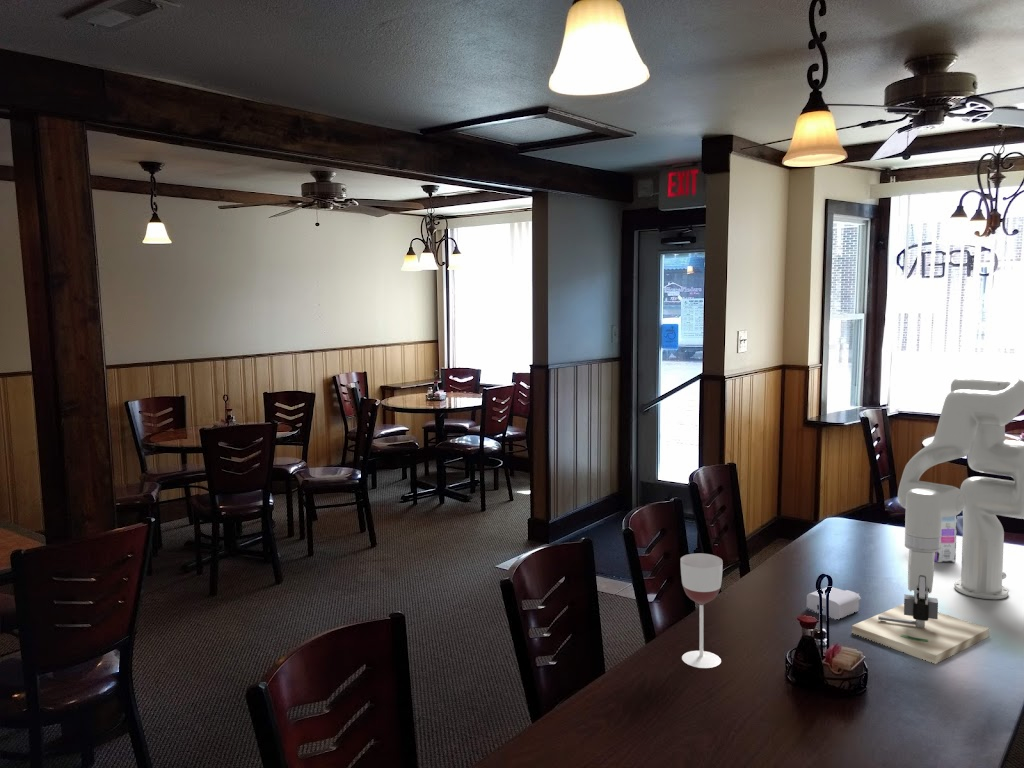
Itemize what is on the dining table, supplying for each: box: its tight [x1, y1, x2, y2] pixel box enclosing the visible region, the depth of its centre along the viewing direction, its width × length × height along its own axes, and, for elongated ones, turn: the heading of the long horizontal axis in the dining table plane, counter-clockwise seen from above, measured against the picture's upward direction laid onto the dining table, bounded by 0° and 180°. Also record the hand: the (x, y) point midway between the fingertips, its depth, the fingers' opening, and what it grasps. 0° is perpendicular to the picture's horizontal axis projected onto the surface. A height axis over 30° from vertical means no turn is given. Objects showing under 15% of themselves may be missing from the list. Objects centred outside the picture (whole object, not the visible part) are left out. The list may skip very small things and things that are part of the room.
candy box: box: [934, 515, 958, 563], centre depth 239 cm, size 14×6×16 cm, turn 179°
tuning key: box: [878, 593, 939, 628], centre depth 184 cm, size 12×3×7 cm, turn 64°
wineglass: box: [680, 552, 724, 669], centre depth 173 cm, size 9×10×23 cm
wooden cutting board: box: [851, 603, 990, 665], centre depth 184 cm, size 24×20×2 cm
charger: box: [806, 586, 862, 620], centre depth 201 cm, size 5×9×15 cm
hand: (920, 615), depth 183 cm, fingers closed on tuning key, 3 cm apart
